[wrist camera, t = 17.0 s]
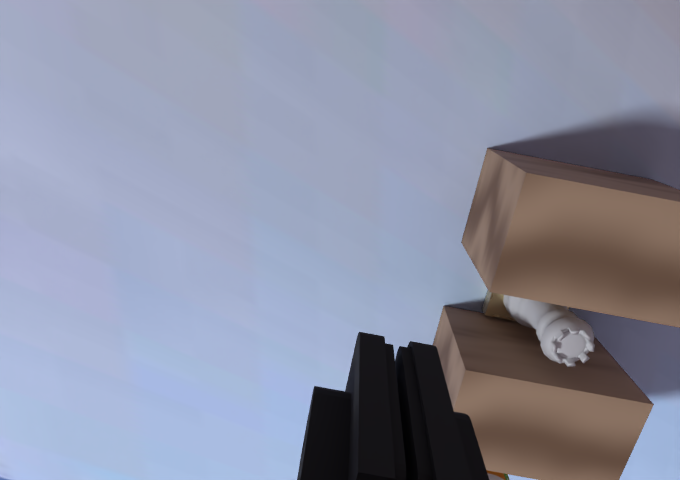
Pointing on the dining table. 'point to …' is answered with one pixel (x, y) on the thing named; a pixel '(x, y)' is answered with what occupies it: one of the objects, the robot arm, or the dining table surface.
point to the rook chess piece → (554, 329)
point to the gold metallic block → (496, 306)
